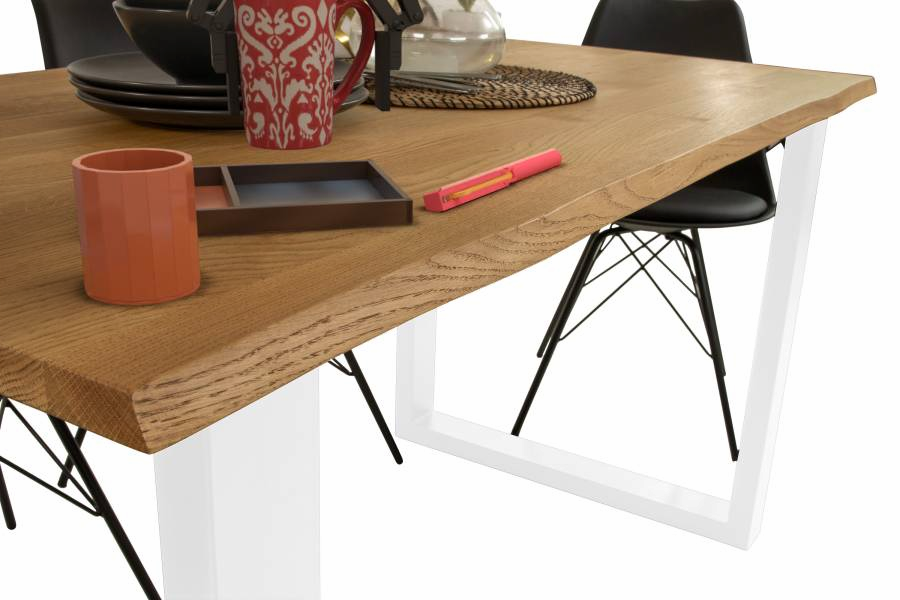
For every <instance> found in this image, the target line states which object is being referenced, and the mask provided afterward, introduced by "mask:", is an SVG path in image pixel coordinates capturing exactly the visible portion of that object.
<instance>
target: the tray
mask: <svg viewBox="0 0 900 600" xmlns="http://www.w3.org/2000/svg"><path fill="white" fill-rule="evenodd" d="M193 171H194V186H195V202H196V217H197V233H198V238H202V237H203V238H204V237H220V236H238V235H239V236H240V235H254V234H255V235H256V234H258V235H259V234H275V233H291V232H311V231H328V230H330V231H331V230H345V229H363V228H364V229H365V228H366V229H367V228H378V227H379V228H381V227H382V228H383V227H399V226H401V227H402V226H413V225H414V224H413V223H414V221H413V220H414V199H413V198H412V197H410V196H409V195H408V194H407V192H405V191H404V189H403V188H401V186H400V185H398V184H397V183H396V182H395V181H394V180H393V178H391V177H390V176H389V174H387V173H386V171H384V170H383V169H382V168H381V166H379V165H378V164H377V163H376V162H375V161H374V160H373V159H372V158H371V159H370V158H369V159H345V160H342V159H341V160H318V161H316V160H315V161H293V162H289V161H288V162H265V163H264V162H263V163H260V162H259V163H237V164H235V163H234V164H211V165H193Z"/></svg>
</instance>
